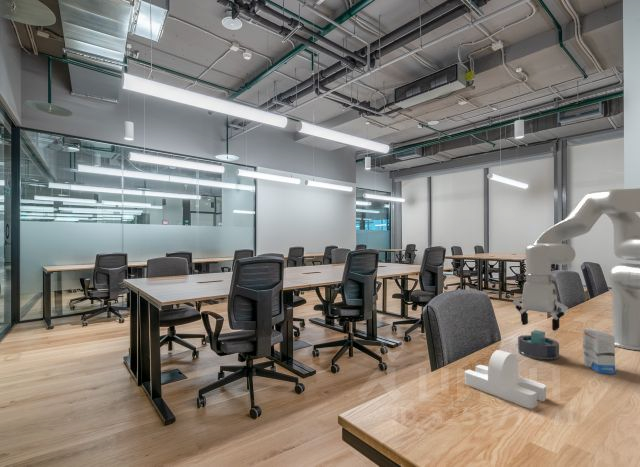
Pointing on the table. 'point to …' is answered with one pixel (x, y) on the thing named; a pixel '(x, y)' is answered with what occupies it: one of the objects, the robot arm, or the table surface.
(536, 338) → the cap
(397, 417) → the table surface
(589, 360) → the ink box
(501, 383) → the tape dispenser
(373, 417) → the table surface
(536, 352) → the grey round hollow piece
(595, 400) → the table surface
